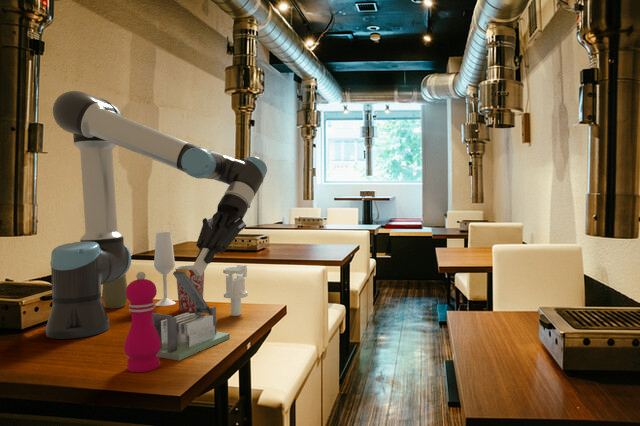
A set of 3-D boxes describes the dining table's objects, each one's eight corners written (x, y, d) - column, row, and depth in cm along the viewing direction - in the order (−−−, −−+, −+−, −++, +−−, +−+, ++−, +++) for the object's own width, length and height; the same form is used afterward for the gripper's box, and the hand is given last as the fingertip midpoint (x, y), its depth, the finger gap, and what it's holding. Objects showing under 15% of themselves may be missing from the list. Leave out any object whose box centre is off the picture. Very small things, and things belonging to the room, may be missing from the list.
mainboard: (195, 333, 126) (195, 328, 126) (229, 338, 122) (229, 333, 121) (141, 354, 110) (141, 348, 110) (179, 360, 105) (178, 355, 105)
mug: (205, 312, 150) (204, 268, 149) (174, 313, 148) (173, 269, 148) (207, 303, 162) (206, 263, 162) (179, 304, 161) (178, 264, 160)
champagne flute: (168, 306, 159) (166, 232, 158) (150, 305, 161) (148, 232, 160) (180, 301, 165) (178, 231, 164) (162, 301, 167) (160, 231, 166)
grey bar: (200, 313, 122) (204, 306, 124) (209, 314, 121) (214, 307, 122) (172, 274, 113) (177, 267, 115) (182, 275, 112) (186, 268, 113)
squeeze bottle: (134, 305, 161) (132, 251, 160) (112, 310, 154) (110, 253, 153) (118, 303, 165) (117, 250, 164) (96, 308, 158) (94, 252, 157)
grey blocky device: (193, 330, 124) (193, 299, 124) (222, 334, 120) (221, 301, 120) (146, 348, 110) (145, 312, 110) (176, 353, 106) (175, 316, 106)
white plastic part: (242, 317, 142) (241, 266, 141) (220, 316, 144) (218, 266, 143) (251, 312, 149) (250, 263, 148) (230, 311, 151) (229, 262, 150)
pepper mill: (165, 360, 105) (163, 268, 105) (155, 373, 98) (153, 274, 97) (132, 361, 105) (129, 269, 104) (119, 374, 98) (116, 275, 97)
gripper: (261, 211, 132) (225, 283, 118) (222, 211, 138) (183, 280, 123) (250, 192, 127) (210, 264, 113) (209, 193, 133) (167, 261, 118)
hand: (196, 272), depth 118 cm, fingers closed
